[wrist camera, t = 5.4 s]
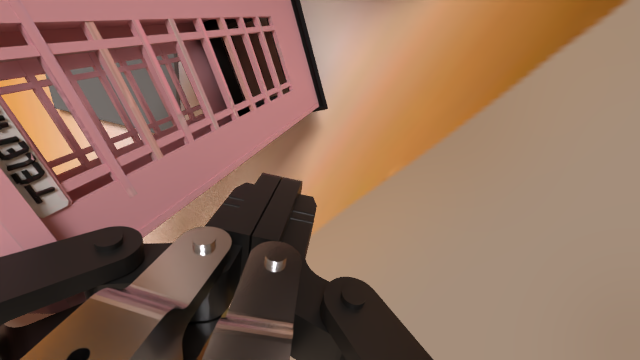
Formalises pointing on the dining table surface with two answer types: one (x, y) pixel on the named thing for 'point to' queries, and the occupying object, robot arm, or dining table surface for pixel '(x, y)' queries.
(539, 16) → the dining table surface
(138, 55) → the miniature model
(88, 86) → the mat
